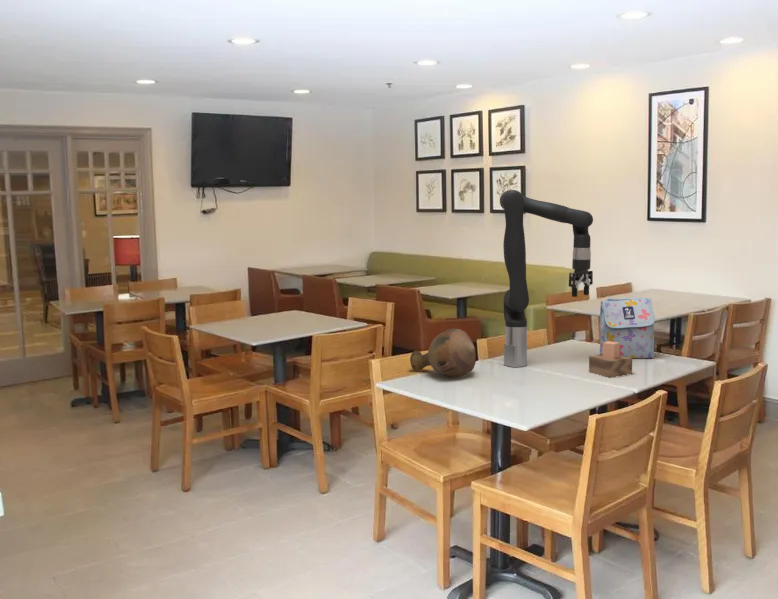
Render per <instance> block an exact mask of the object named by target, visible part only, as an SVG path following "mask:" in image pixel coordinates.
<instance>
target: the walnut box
mask: <svg viewBox="0 0 778 599" xmlns="http://www.w3.org/2000/svg"><path fill="white" fill-rule="evenodd" d="M588 373H590V374H593V373H594V375H597V374H598V375H597V376H600V375H601V376H600V377H605V378H607V377H608V379H612V378H611V377H613V378H617V377H616V376H619V377H623V376H622V375H625V376H628V375H627V374H631V375H633V358H630V357H626V356H622V355H619V357H618V358H615V359H610V358H602V354H601V353H600V354H596V355H594V354H593V355H590V356H588Z"/></svg>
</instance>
